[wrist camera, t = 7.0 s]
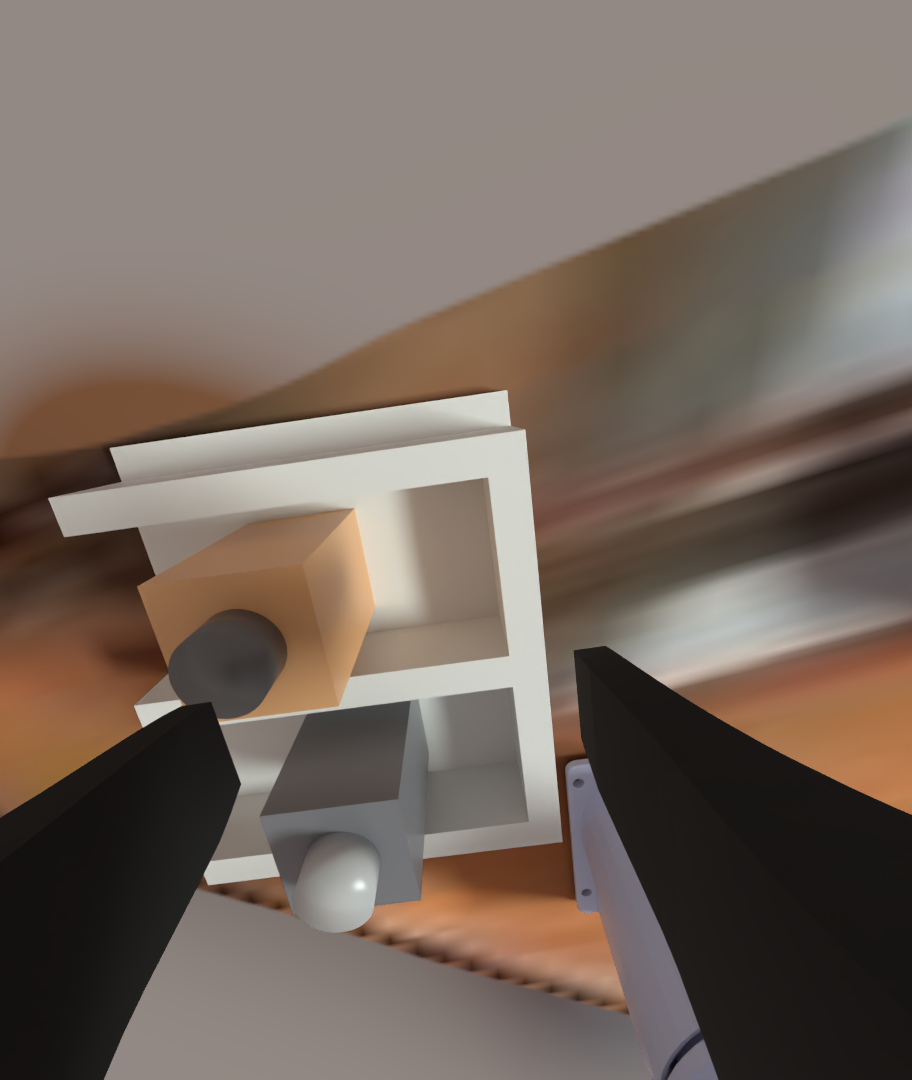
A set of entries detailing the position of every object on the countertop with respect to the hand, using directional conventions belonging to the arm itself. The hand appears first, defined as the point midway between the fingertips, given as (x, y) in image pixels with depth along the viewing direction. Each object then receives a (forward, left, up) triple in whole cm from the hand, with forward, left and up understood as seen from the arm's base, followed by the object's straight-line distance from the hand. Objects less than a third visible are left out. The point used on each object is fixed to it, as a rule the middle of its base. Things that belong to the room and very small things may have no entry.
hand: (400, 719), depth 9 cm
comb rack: (-3, +3, -9) cm, 10 cm away
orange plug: (+1, +4, -9) cm, 9 cm away
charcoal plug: (-7, +3, -9) cm, 11 cm away
